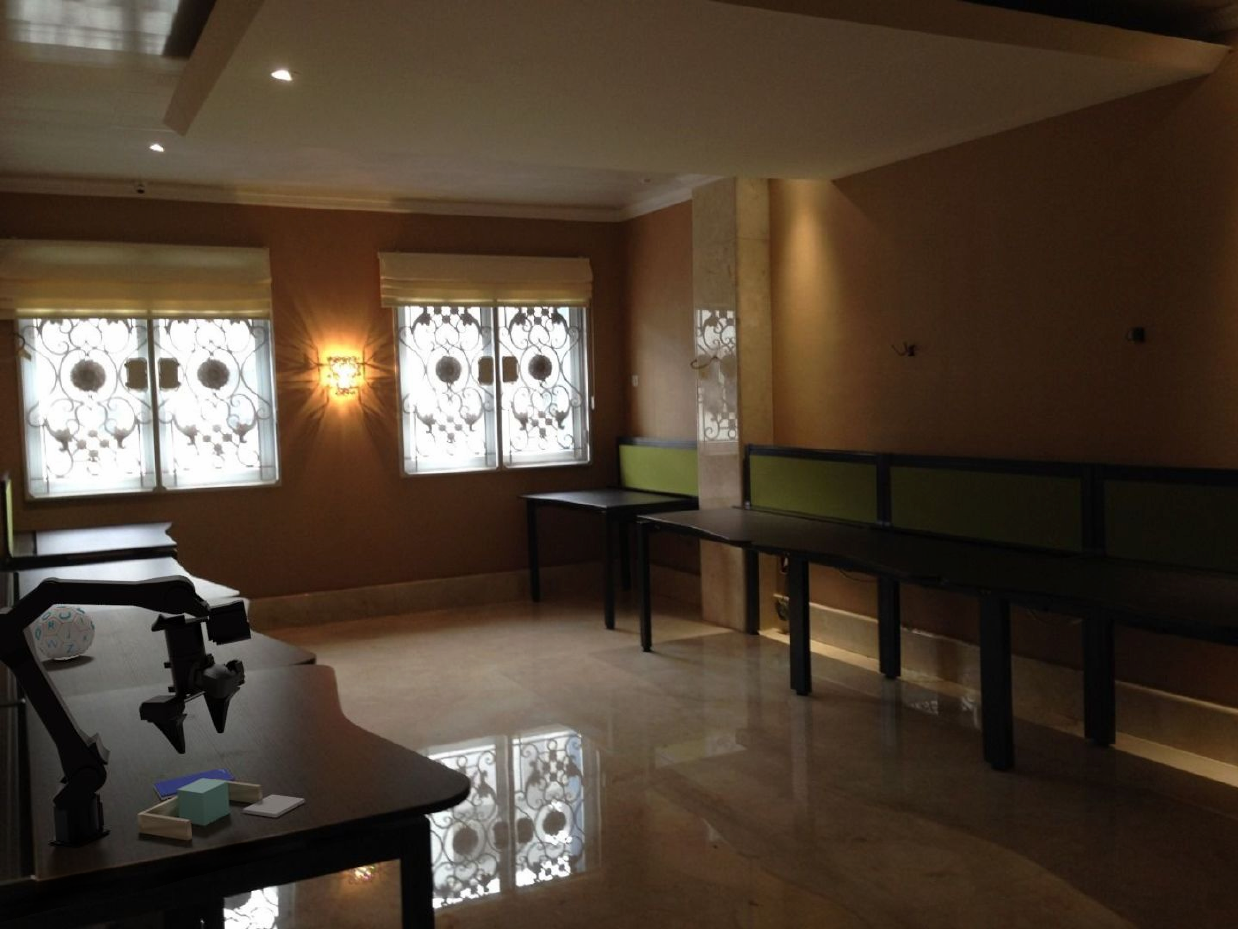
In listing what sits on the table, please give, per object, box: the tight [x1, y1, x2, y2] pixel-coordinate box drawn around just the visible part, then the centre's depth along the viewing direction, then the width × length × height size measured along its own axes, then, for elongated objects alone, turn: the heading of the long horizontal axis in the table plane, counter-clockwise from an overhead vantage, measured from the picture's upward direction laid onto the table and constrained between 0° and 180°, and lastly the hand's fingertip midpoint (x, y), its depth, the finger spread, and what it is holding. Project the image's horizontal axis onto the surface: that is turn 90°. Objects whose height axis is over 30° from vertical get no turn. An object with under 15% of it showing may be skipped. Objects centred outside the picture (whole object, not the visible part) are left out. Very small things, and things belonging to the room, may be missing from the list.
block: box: [177, 778, 230, 827], centre depth 180 cm, size 6×6×6 cm
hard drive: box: [152, 767, 236, 801], centre depth 196 cm, size 2×8×12 cm
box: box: [136, 779, 263, 841], centre depth 181 cm, size 17×11×3 cm, turn 156°
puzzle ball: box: [33, 605, 96, 659], centre depth 304 cm, size 15×15×15 cm
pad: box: [242, 794, 306, 819], centre depth 183 cm, size 7×7×1 cm
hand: (201, 743), depth 181 cm, fingers open, 9 cm apart
